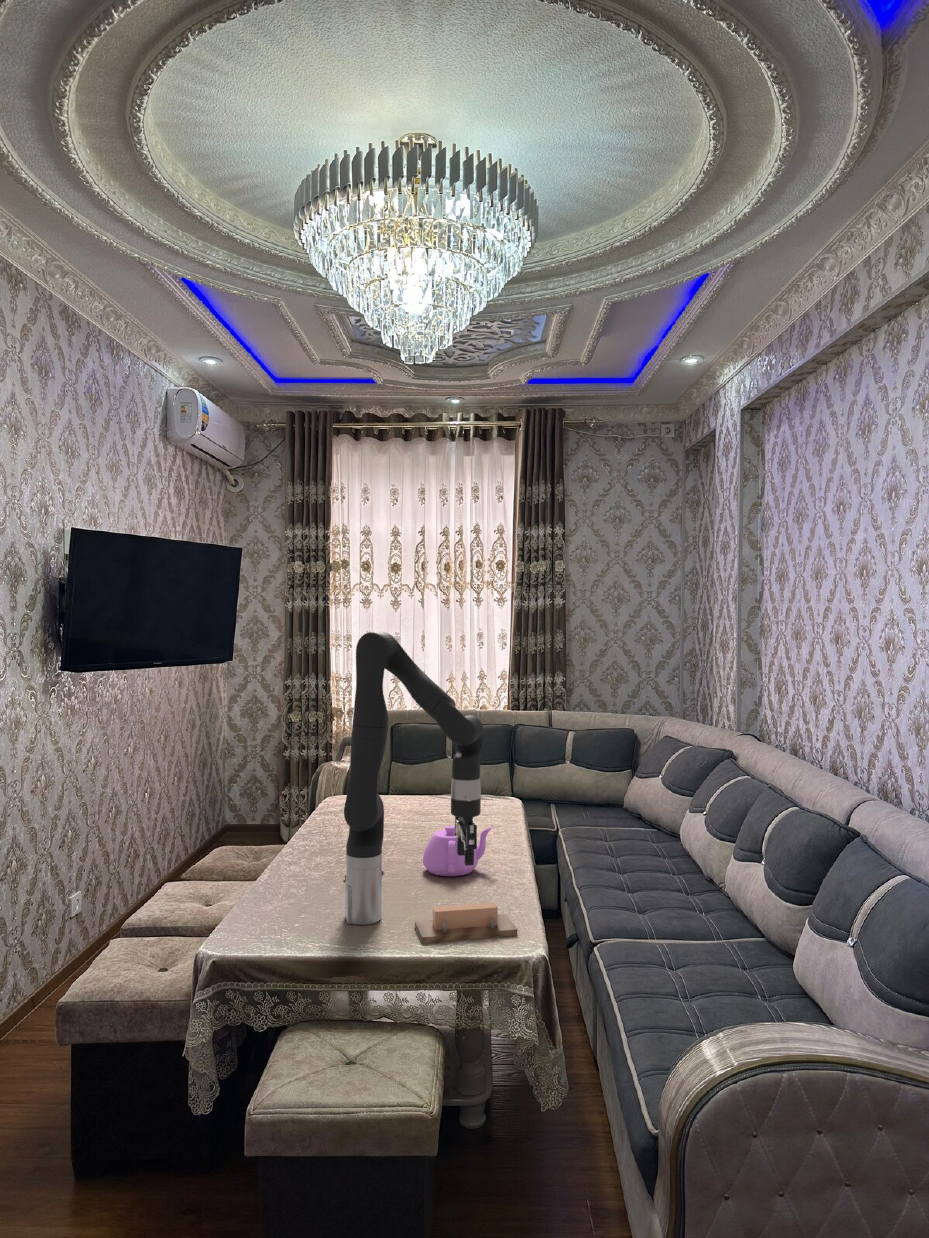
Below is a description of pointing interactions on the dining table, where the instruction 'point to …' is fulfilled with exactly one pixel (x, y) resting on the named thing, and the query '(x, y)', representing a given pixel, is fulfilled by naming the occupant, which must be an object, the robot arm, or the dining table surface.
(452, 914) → the clay strip
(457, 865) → the teapot
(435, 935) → the rack
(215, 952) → the dining table surface
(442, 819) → the dining table surface
